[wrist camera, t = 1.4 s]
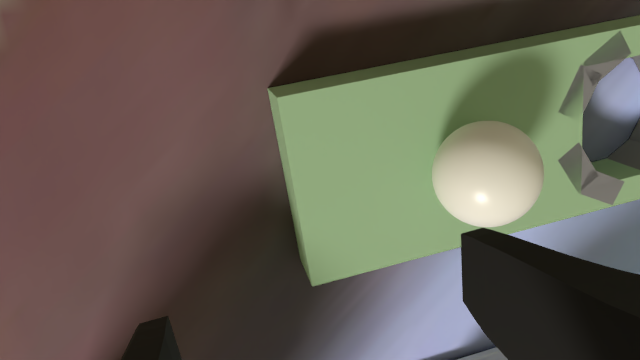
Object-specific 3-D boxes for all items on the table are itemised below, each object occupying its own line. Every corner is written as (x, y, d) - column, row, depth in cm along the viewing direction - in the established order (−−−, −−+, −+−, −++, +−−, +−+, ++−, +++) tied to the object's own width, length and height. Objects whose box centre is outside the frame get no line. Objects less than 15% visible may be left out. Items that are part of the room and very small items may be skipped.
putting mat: (667, 165, 27) (712, 179, 25) (300, 259, 24) (312, 286, 21) (680, 6, 24) (732, 6, 22) (267, 88, 21) (276, 97, 19)
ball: (505, 193, 22) (568, 229, 18) (419, 215, 21) (466, 257, 18) (502, 102, 21) (569, 122, 17) (410, 122, 20) (460, 147, 16)
